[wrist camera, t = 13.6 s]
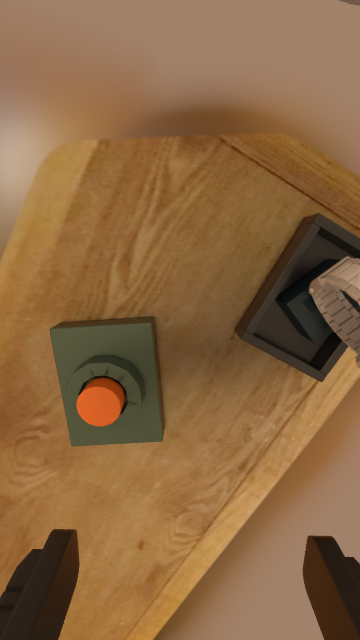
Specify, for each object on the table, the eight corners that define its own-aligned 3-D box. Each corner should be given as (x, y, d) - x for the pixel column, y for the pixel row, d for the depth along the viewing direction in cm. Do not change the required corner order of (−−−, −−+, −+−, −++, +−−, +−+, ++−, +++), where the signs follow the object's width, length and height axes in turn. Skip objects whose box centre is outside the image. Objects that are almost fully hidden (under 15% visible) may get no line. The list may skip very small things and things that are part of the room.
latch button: (80, 378, 23) (73, 388, 21) (122, 375, 23) (117, 385, 21) (87, 415, 24) (80, 427, 22) (127, 413, 24) (123, 425, 22)
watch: (310, 349, 26) (403, 417, 15) (262, 282, 24) (326, 305, 13) (363, 313, 25) (502, 358, 14) (316, 241, 23) (431, 231, 13)
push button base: (59, 322, 26) (38, 334, 22) (153, 316, 26) (148, 327, 22) (79, 432, 29) (63, 460, 25) (164, 427, 28) (161, 455, 24)
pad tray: (304, 217, 23) (318, 212, 21) (383, 265, 24) (407, 266, 22) (234, 330, 26) (240, 338, 23) (309, 370, 27) (322, 382, 24)
